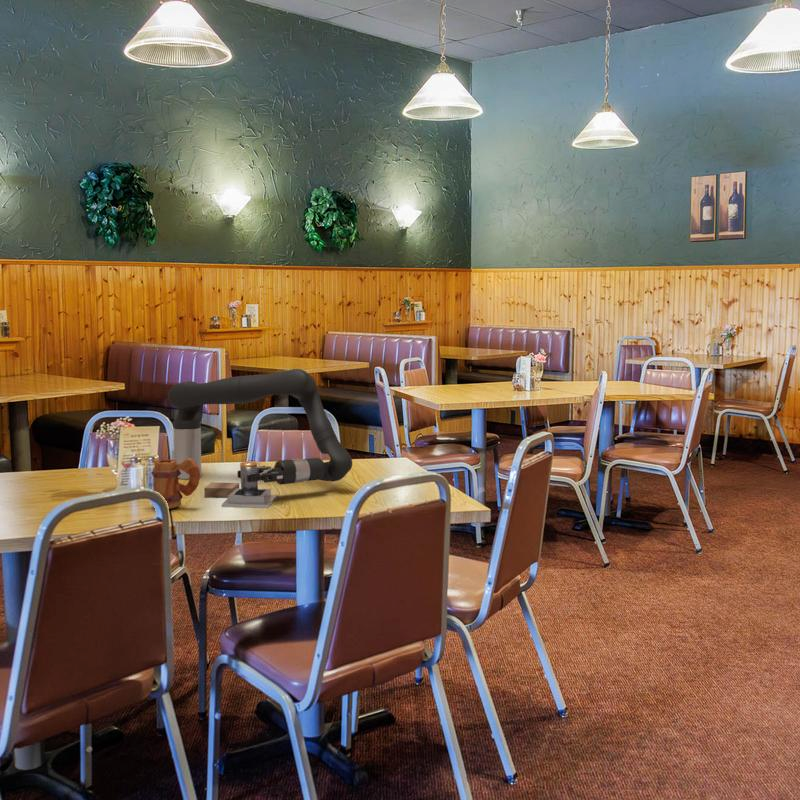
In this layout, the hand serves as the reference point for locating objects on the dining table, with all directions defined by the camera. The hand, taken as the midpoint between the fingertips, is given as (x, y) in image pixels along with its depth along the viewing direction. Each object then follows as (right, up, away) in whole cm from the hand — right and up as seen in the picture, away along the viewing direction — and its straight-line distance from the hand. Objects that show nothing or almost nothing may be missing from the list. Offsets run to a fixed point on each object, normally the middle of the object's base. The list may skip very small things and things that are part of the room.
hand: (242, 476), depth 273 cm
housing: (+2, -8, +2) cm, 9 cm away
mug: (-19, -9, -7) cm, 22 cm away
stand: (-9, -7, +13) cm, 17 cm away
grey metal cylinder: (+2, -7, +2) cm, 8 cm away
